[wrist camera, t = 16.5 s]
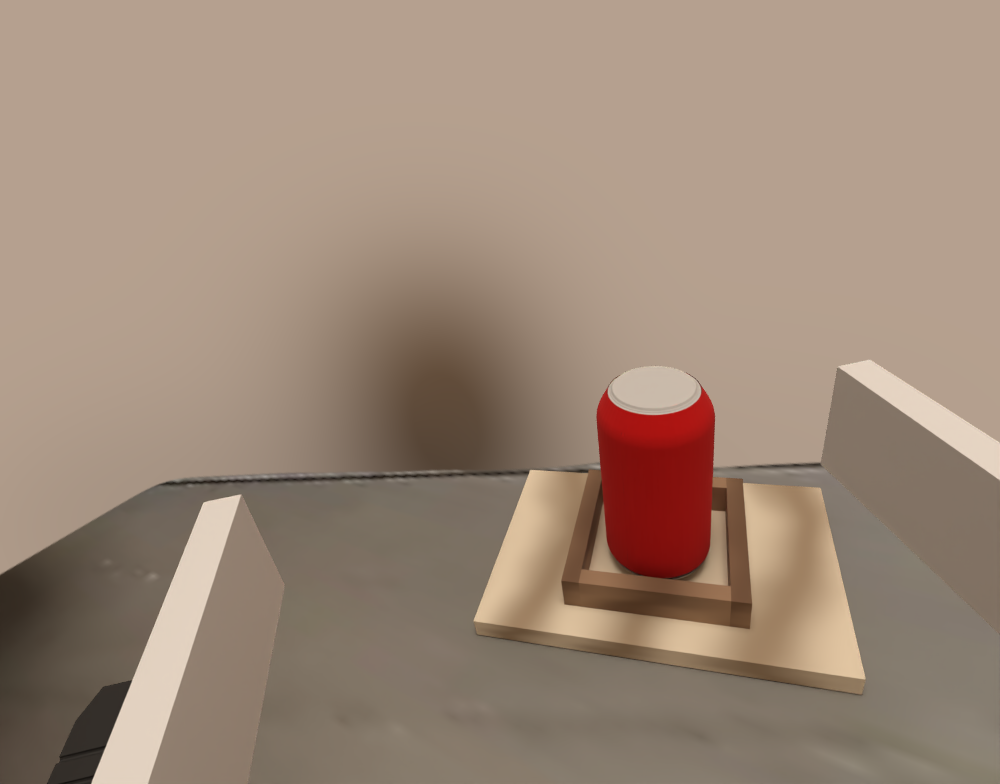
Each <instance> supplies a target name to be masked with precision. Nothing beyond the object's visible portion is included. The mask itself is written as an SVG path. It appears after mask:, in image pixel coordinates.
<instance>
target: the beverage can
mask: <svg viewBox="0 0 1000 784" xmlns="http://www.w3.org/2000/svg"><path fill="white" fill-rule="evenodd" d="M714 427H715V413H714V408H713V405H712V402H711V400H710V399H709V397H708V395H707V394H706V392H705V391H704V389H703V388H702V386H701V385H700V383H699V382H698V381H697V380H696V379H695V378H694V377H693V376H691V375H690V374H687V373H685V372H683V371H680V370H678V369H675V368H670V367H664V366H647V367H641V368H636V369H633V370H629V371H627V372H625V373H623V374H621V375H619V376H618V377H616V378H615V379H614V380H613V381H612V382H611V383H610V385H609V386H608V388H607V390H606V391H605V393H604V394H603V396H602V398H601V400H600V403H599V405H598V409H597V429H598V441H599V454H600V466H601V478H602V490H603V502H604V514H605V526H606V538H607V544H608V547H609V549H610V551H611V553H612V554H613V556H614V557H615V559H616V560H617V562H618V563H619V564H620V565H621V566H622V567H624V568H625V569H626V570H628V571H629V572H631V573H633V574H634V575H637V576H646V577H655V578H663V579H672V580H676V579H680V578H683V577H686V576H688V575H690V574H692V573H693V572H695V571H696V570H697V569H698V568H699V567H700V566H701V565H702V564H703V562H704V561H705V559H706V556H707V555H708V552H709V549H710V539H711V512H712V484H713V457H714V429H715V428H714Z"/></svg>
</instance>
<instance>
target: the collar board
mask: <svg viewBox="0 0 1000 784" xmlns="http://www.w3.org/2000/svg"><path fill="white" fill-rule="evenodd" d="M474 624H475V628H476V632H477V635H484V636H490V637H497V638H503V639H509V640H516V641H522V642H529V643H535V644H541V645H548V646H554V647H560V648H567V649H573V650H580V651H586V652H592V653H599V654H605V655H612V656H618V657H624V658H631V659H637V660H643V661H650V662H656V663H663V664H669V665H675V666H682V667H688V668H695V669H701V670H707V671H714V672H720V673H727V674H733V675H739V676H746V677H752V678H758V679H765V680H771V681H778V682H784V683H790V684H797V685H803V686H810V687H816V688H822V689H829V690H835V691H841V692H848V693H854V694H861V695H862V692H863V688H864V684H865V680H866V679H865V675H864V670H863V666H862V662H861V658H860V653H859V649H858V645H857V641H856V636H855V632H854V628H853V624H852V620H851V615H850V611H849V607H848V603H847V598H846V594H845V590H844V586H843V581H842V577H841V573H840V569H839V564H838V560H837V556H836V552H835V547H834V543H833V539H832V535H831V530H830V526H829V522H828V518H827V513H826V509H825V505H824V501H823V497H822V492H821V488H813V487H797V486H781V485H765V484H749V483H743V479H735V478H718V477H713V484H712V512H711V539H710V549H709V552H708V555H707V556H706V559H705V561H704V562H703V564H702V565H701V566H700V567H699V568H698V569H697V570H696V571H695V572H693V573H692V574H690V575H688V576H686V577H683V578H680V579H676V580H672V579H663V578H655V577H646V576H637V575H634V574H633V573H631V572H629V571H628V570H626V569H625V568H624V567H622V566H621V565H620V564H619V563H618V562H617V560H616V559H615V557H614V556H613V554H612V553H611V551H610V549H609V547H608V544H607V538H606V526H605V514H604V502H603V490H602V478H601V470H589V472H588V474H587V473H571V472H555V471H539V470H530V473H529V476H528V478H527V481H526V483H525V486H524V489H523V491H522V494H521V497H520V499H519V502H518V505H517V507H516V510H515V513H514V515H513V518H512V521H511V523H510V526H509V529H508V531H507V534H506V537H505V539H504V542H503V544H502V547H501V550H500V552H499V555H498V558H497V560H496V563H495V566H494V568H493V571H492V574H491V576H490V579H489V582H488V584H487V587H486V590H485V592H484V595H483V598H482V600H481V603H480V605H479V608H478V611H477V613H476V616H475V619H474Z"/></svg>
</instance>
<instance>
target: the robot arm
mask: <svg viewBox="0 0 1000 784" xmlns="http://www.w3.org/2000/svg"><path fill="white" fill-rule="evenodd" d="M821 465H822V466H823V467H824V468H825V469H826V470H827V471H828V472H829V473H830V474H832V475H833V476H834V477H835V478H836V479H837V480H838V481H839V482H840V483H841V484H842V485H843V486H844V487H845V488H846V489H847V490H848V491H849V492H850V493H852V494H853V495H854V496H855V497H856V498H857V499H858V500H859V501H860V502H861V503H862V504H863V505H864V506H865V507H866V508H867V509H868V510H869V511H870V512H871V513H873V514H874V515H875V516H876V517H877V518H878V519H879V520H880V521H881V522H882V523H883V524H884V525H885V526H886V527H887V528H888V529H889V530H890V531H891V532H892V533H894V534H895V535H896V536H897V537H898V538H899V539H900V540H901V541H902V542H903V543H904V544H905V545H906V546H907V547H908V548H909V549H910V550H911V551H912V552H914V553H915V554H916V555H917V556H918V557H919V558H920V559H921V560H922V561H923V562H924V563H925V564H926V565H927V566H928V567H929V568H930V569H931V570H932V571H933V572H935V573H936V574H937V575H938V576H939V577H940V578H941V579H942V580H943V581H944V582H945V583H946V584H947V585H948V586H949V587H950V588H951V589H952V590H953V591H954V592H956V593H957V594H958V595H959V596H960V597H961V598H962V599H963V600H964V601H965V602H966V603H967V604H968V605H969V606H970V607H971V608H972V609H973V610H974V611H976V612H977V613H978V614H979V615H980V616H981V617H982V618H983V619H984V620H985V621H986V622H987V623H988V624H989V625H990V626H991V627H992V628H993V629H994V630H995V631H997V632H998V633H999V634H1000V443H999V442H998V441H996V440H994V439H993V438H991V437H990V436H988V435H987V434H985V433H984V432H982V431H981V430H979V429H977V428H976V427H974V426H973V425H971V424H970V423H968V422H967V421H965V420H963V419H962V418H960V417H958V416H957V415H956V414H954V413H952V412H951V411H949V410H948V409H946V408H945V407H943V406H941V405H940V404H938V403H937V402H935V401H933V400H932V399H931V398H929V397H927V396H926V395H924V394H923V393H921V392H920V391H918V390H916V389H915V388H913V387H912V386H910V385H909V384H907V383H905V382H904V381H902V380H901V379H899V378H898V377H896V376H895V375H893V374H891V373H890V372H888V371H887V370H885V369H884V368H882V367H880V366H879V365H877V364H876V363H874V362H873V361H871V360H866V361H861V362H857V363H852V364H847V365H843V366H838V368H837V374H836V379H835V385H834V391H833V396H832V402H831V408H830V414H829V419H828V425H827V431H826V437H825V443H824V449H823V454H822V460H821ZM284 587H285V585H284V583H283V581H282V579H281V577H280V575H279V572H278V570H277V568H276V566H275V564H274V562H273V560H272V558H271V556H270V554H269V551H268V549H267V547H266V545H265V543H264V541H263V539H262V537H261V535H260V533H259V530H258V528H257V526H256V524H255V522H254V520H253V518H252V516H251V514H250V511H249V509H248V507H247V505H246V503H245V501H244V499H243V497H242V495H236V496H231V497H227V498H222V499H217V500H213V501H208V502H204V503H203V505H202V508H201V510H200V513H199V515H198V518H197V520H196V523H195V525H194V528H193V530H192V533H191V535H190V538H189V540H188V543H187V545H186V548H185V550H184V553H183V555H182V558H181V560H180V563H179V565H178V568H177V570H176V573H175V575H174V578H173V580H172V583H171V585H170V588H169V590H168V593H167V595H166V598H165V600H164V603H163V605H162V608H161V610H160V613H159V615H158V618H157V620H156V623H155V625H154V628H153V630H152V633H151V635H150V638H149V640H148V643H147V645H146V648H145V650H144V653H143V655H142V658H141V660H140V663H139V665H138V668H137V670H136V673H135V675H134V678H133V680H131V681H127V682H122V683H118V684H114V685H110V686H105V687H103V688H102V689H101V690H100V692H99V693H98V694H97V695H96V696H95V698H94V699H93V700H92V701H91V703H90V704H89V705H88V706H87V708H86V709H85V710H84V711H83V713H82V714H81V715H80V716H79V718H78V719H77V720H76V722H75V724H74V726H73V728H72V730H71V733H70V735H69V737H68V739H67V741H66V743H65V746H64V748H63V750H62V752H61V754H60V756H59V757H60V762H59V763H58V764H56V765H55V767H54V770H53V772H52V774H51V776H50V778H49V780H48V783H47V784H248V779H249V774H250V768H251V763H252V758H253V752H254V747H255V742H256V736H257V731H258V726H259V720H260V715H261V710H262V704H263V699H264V693H265V688H266V683H267V677H268V672H269V667H270V661H271V656H272V651H273V645H274V640H275V635H276V629H277V624H278V619H279V613H280V608H281V603H282V597H283V592H284Z"/></svg>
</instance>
